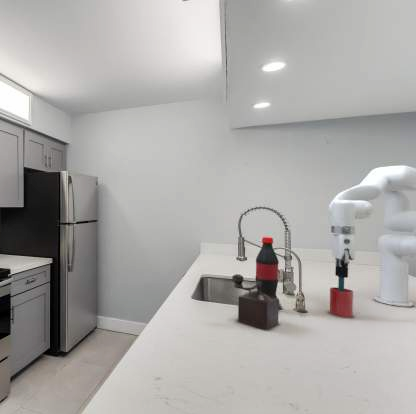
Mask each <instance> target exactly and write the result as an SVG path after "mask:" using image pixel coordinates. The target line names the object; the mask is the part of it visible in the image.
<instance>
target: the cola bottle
mask: <svg viewBox="0 0 416 414" xmlns="http://www.w3.org/2000/svg"><path fill="white" fill-rule="evenodd" d="M273 239H274V238H273V237H270V236H263V237H262V239H261V243H262V246H261V248H260V250H259V252H258V253H257V256H256V259H255V285H256V284H257V281H258V280H257V279H258V278H261V286H260V291H261V292H262V293H264V294H266V295H267V296H269V297H274V298H278V297H277V290H278V289H277V288H278V286H279V263H280V261H279V259H278V256H277V254H276V252H275V249H274V247H273V244H274V240H273ZM257 290H258V287H257V288H256V291H257Z"/></svg>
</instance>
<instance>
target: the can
mask: <svg viewBox="0 0 416 414" xmlns="http://www.w3.org/2000/svg"><path fill="white" fill-rule="evenodd" d="M329 314H330V315H333V316H335V317H339V318H348V319H349V318H350V319H351V318H353V316H354V290H352V289H349V288H344V292H343V291H338V287H330V288H329Z"/></svg>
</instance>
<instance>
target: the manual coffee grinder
mask: <svg viewBox="0 0 416 414" xmlns="http://www.w3.org/2000/svg"><path fill="white" fill-rule="evenodd" d="M257 280H258V281H257V284H256V283H255V285H254V286H251V287H244V285H243V282H244V281H245V279H244V276H243V275H242V274H237V273H236V274H233V275H232V277H231V281H232V282H233V283H234V288H235V289H239V290H243V291H248V292H245V293H244V294H242V295H238V304H237V305H238V306H237V307H238V308H237V311H238V312H237V322H238V323H241V324H244V325H246V326H250V327H253V328H256V329H259V330H264V331H268V330H271V329H273V328H274V327H276V326H278V325H279V311H280V309H279V307H280V306H279V305H280V302H279V301H280V299H279V298H278V297H277V298H274V297H269V296H267V295H266V294H264V293H262V292H261V291H260V286H261V278H258V279H257ZM257 287H258V290H257ZM255 289H256V290H255ZM253 290H254V291H253Z"/></svg>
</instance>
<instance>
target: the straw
mask: <svg viewBox="0 0 416 414" xmlns="http://www.w3.org/2000/svg"><path fill="white" fill-rule="evenodd" d="M337 284H338V286H337V288H338V291H343V292H344V289H345V278H344V277H338V283H337Z"/></svg>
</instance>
